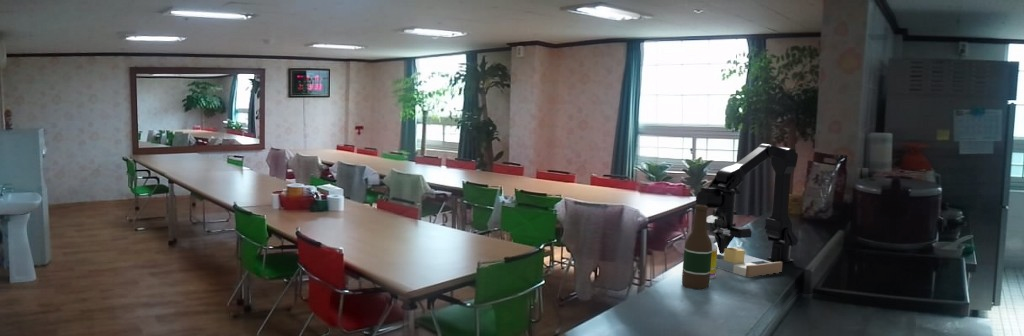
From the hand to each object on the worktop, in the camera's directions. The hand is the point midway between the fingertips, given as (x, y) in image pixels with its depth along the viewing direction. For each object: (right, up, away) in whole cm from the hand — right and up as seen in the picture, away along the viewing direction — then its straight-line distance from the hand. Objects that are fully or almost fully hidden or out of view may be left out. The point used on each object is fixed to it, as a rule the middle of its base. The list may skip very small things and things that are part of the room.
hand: (721, 253), depth 222 cm
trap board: (+5, -4, -2) cm, 7 cm away
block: (+2, -2, -5) cm, 6 cm away
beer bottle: (-17, -6, -28) cm, 33 cm away
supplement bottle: (-11, -5, -16) cm, 20 cm away
